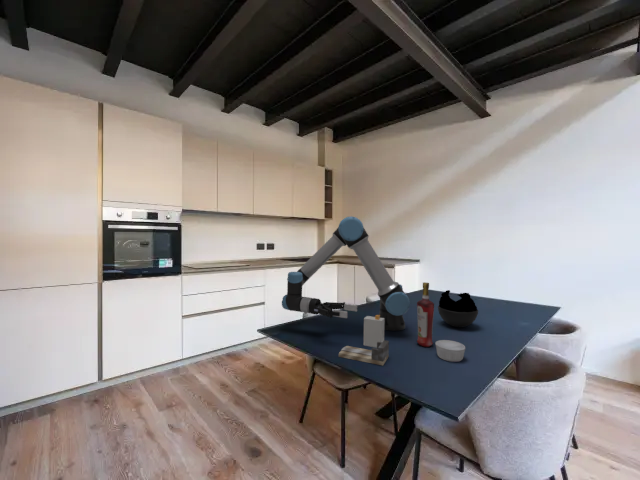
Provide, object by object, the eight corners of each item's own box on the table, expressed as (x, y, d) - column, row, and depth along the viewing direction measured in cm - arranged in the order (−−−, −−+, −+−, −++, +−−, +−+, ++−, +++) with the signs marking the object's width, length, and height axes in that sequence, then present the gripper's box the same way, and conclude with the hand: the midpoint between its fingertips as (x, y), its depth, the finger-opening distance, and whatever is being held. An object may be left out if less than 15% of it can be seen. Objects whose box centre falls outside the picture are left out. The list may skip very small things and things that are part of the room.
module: (363, 345, 134) (363, 315, 134) (366, 341, 139) (367, 312, 138) (381, 348, 131) (381, 317, 131) (384, 344, 135) (384, 315, 135)
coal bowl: (485, 332, 155) (486, 296, 154) (446, 331, 155) (446, 295, 155) (467, 321, 175) (467, 289, 174) (432, 320, 175) (432, 288, 175)
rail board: (338, 356, 121) (338, 340, 121) (346, 349, 129) (346, 334, 129) (383, 365, 113) (383, 348, 113) (388, 357, 121) (388, 341, 121)
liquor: (412, 343, 137) (413, 282, 137) (425, 341, 140) (426, 281, 140) (424, 348, 131) (425, 284, 130) (437, 346, 134) (438, 283, 133)
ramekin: (463, 365, 114) (463, 351, 114) (432, 359, 120) (432, 345, 120) (466, 356, 124) (467, 343, 124) (438, 350, 130) (438, 338, 130)
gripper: (321, 308, 159) (360, 313, 150) (298, 319, 137) (342, 326, 128) (322, 294, 159) (360, 298, 150) (299, 302, 137) (342, 309, 127)
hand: (352, 311), depth 139 cm, fingers open, 13 cm apart
